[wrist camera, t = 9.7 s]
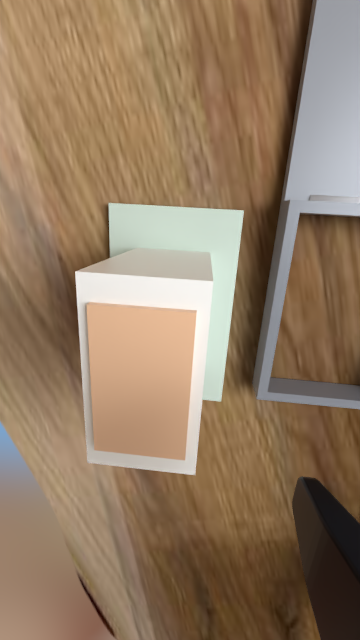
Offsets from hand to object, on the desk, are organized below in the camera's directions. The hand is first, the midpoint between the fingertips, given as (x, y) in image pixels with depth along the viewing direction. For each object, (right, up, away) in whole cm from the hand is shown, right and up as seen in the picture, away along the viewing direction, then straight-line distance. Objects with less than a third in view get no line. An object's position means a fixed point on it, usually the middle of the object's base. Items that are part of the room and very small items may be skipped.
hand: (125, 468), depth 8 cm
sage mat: (+1, +5, +12) cm, 13 cm away
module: (+1, +4, +11) cm, 12 cm away
